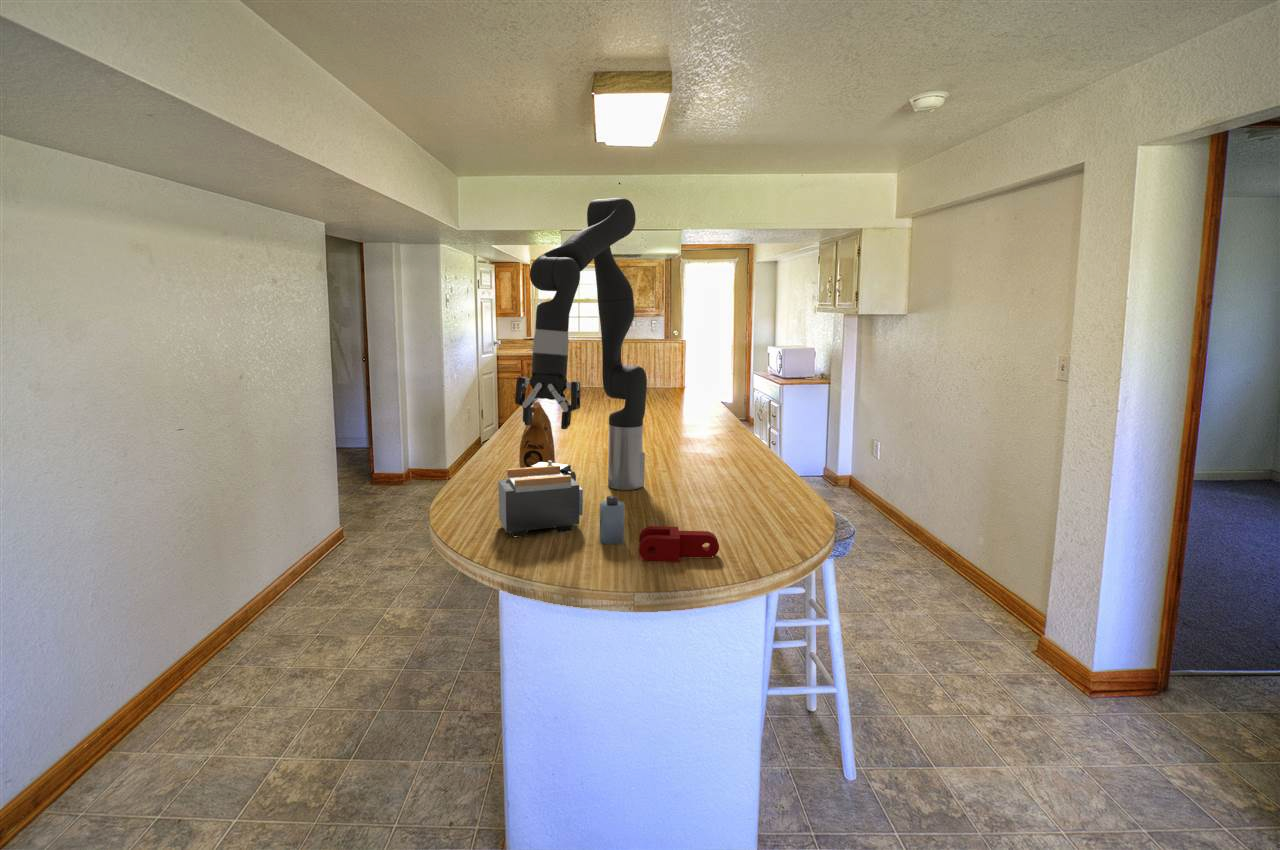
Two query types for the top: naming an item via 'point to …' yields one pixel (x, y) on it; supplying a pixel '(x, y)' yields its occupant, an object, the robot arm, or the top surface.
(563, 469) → the pneumatic valve
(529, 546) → the top surface
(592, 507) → the top surface
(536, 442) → the coffee package
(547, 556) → the top surface
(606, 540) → the blue-gray bottle
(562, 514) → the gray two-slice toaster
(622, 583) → the top surface
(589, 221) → the robot arm
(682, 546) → the mechanical linkage
